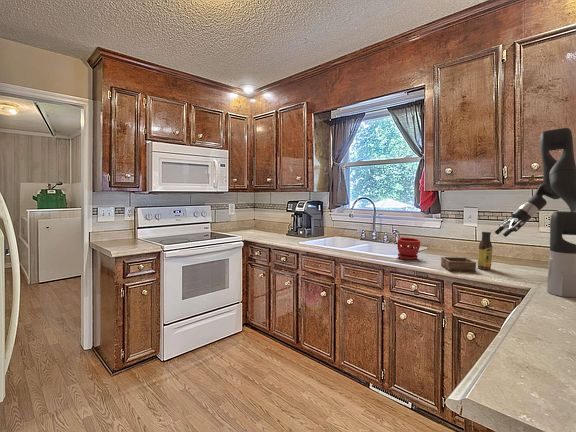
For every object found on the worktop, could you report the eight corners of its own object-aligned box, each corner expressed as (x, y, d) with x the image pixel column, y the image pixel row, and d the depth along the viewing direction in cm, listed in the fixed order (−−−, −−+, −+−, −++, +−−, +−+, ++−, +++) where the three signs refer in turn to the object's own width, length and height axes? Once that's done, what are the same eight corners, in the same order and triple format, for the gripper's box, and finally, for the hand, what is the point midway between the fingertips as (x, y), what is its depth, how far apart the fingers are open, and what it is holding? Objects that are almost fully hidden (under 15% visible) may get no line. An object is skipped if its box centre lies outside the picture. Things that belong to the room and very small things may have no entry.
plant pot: (396, 259, 194) (397, 240, 194) (397, 255, 207) (397, 236, 206) (420, 261, 190) (421, 241, 189) (419, 256, 203) (419, 237, 202)
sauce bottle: (487, 270, 168) (489, 232, 166) (475, 268, 173) (476, 231, 171) (493, 269, 172) (495, 231, 170) (480, 266, 177) (482, 230, 175)
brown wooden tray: (475, 272, 165) (476, 262, 165) (448, 271, 167) (449, 261, 167) (466, 266, 177) (466, 257, 177) (441, 265, 179) (441, 256, 179)
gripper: (512, 206, 174) (488, 227, 177) (527, 208, 160) (501, 231, 163) (522, 216, 174) (498, 237, 177) (538, 219, 160) (512, 241, 163)
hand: (499, 234), depth 170 cm, fingers open, 8 cm apart
